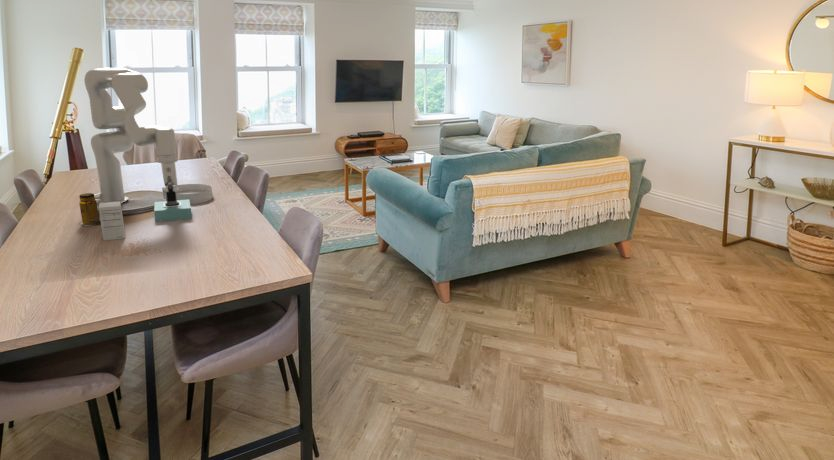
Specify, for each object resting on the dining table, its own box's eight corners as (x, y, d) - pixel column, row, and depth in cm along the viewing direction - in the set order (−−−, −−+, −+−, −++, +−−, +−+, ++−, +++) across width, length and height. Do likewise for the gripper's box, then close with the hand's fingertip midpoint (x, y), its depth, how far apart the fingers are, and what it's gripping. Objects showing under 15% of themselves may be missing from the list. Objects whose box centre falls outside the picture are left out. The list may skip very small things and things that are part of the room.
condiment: (78, 223, 237) (74, 194, 234) (100, 219, 243) (96, 191, 240) (86, 227, 233) (81, 197, 229) (108, 222, 239) (104, 193, 235)
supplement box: (103, 235, 223) (98, 202, 219) (125, 233, 226) (121, 201, 222) (102, 240, 216) (97, 207, 213) (125, 238, 219) (120, 205, 216)
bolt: (165, 217, 247) (162, 189, 243) (165, 214, 252) (162, 186, 249) (181, 216, 249) (178, 188, 245) (181, 212, 255) (178, 185, 251)
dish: (196, 206, 267) (195, 195, 265) (153, 203, 271) (151, 192, 269) (221, 195, 287) (220, 185, 286) (180, 192, 292) (179, 182, 290)
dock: (155, 221, 241) (154, 210, 240) (155, 211, 255) (154, 201, 254) (191, 218, 246) (190, 207, 245) (190, 209, 260) (189, 198, 259)
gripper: (177, 161, 237) (181, 202, 242) (176, 154, 253) (180, 193, 258) (157, 162, 235) (162, 204, 240) (157, 155, 250) (162, 194, 255)
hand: (171, 198), depth 249 cm, fingers open, 9 cm apart
